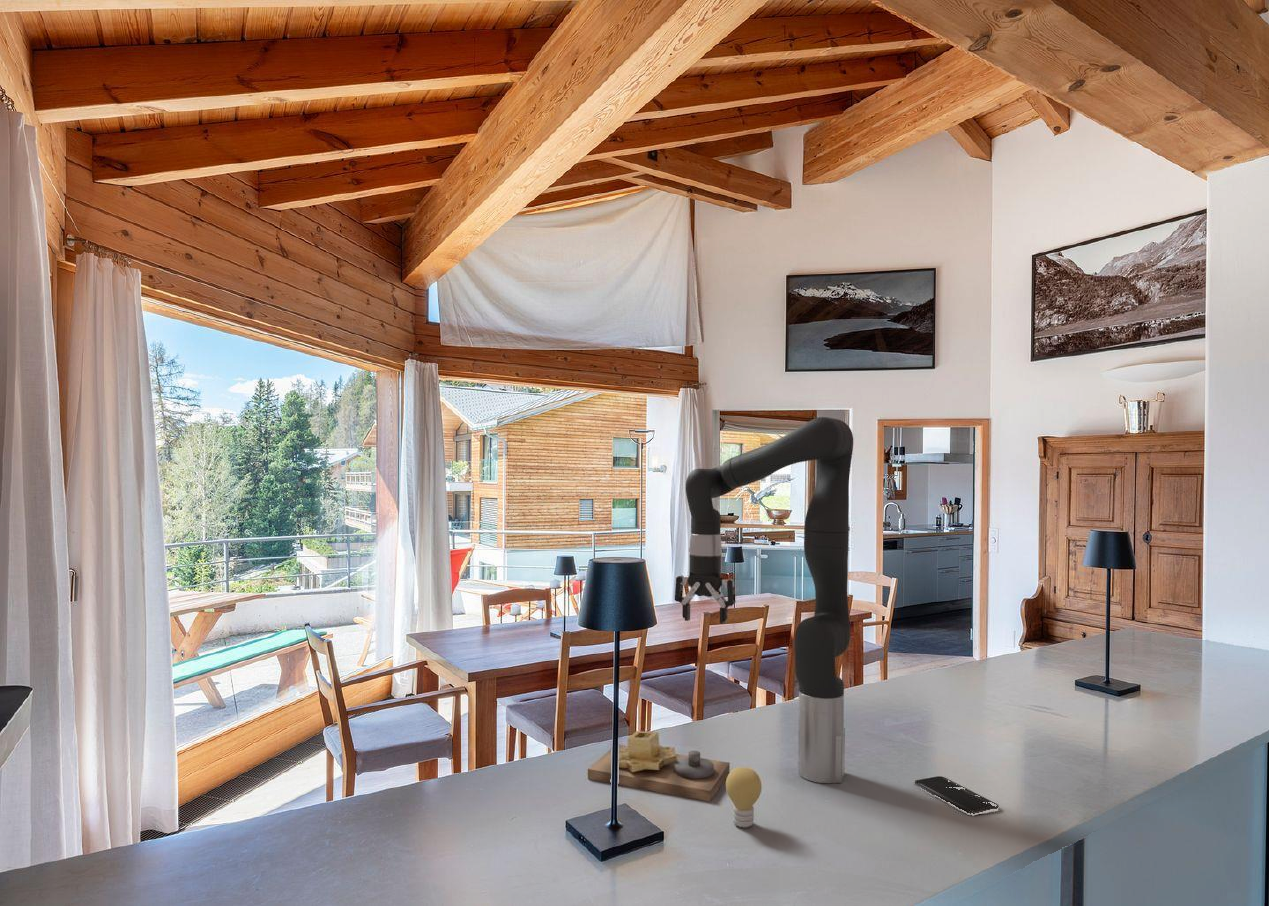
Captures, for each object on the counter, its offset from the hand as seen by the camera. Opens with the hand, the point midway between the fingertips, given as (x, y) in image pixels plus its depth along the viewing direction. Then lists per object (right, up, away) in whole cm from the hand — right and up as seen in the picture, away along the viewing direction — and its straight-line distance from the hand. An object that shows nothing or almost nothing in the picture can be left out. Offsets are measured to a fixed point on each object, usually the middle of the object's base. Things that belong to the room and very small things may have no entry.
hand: (704, 621), depth 172 cm
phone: (+47, -29, -28) cm, 62 cm away
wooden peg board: (-11, -27, -20) cm, 36 cm away
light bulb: (+3, -27, -41) cm, 49 cm away
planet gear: (-14, -25, -19) cm, 34 cm away
